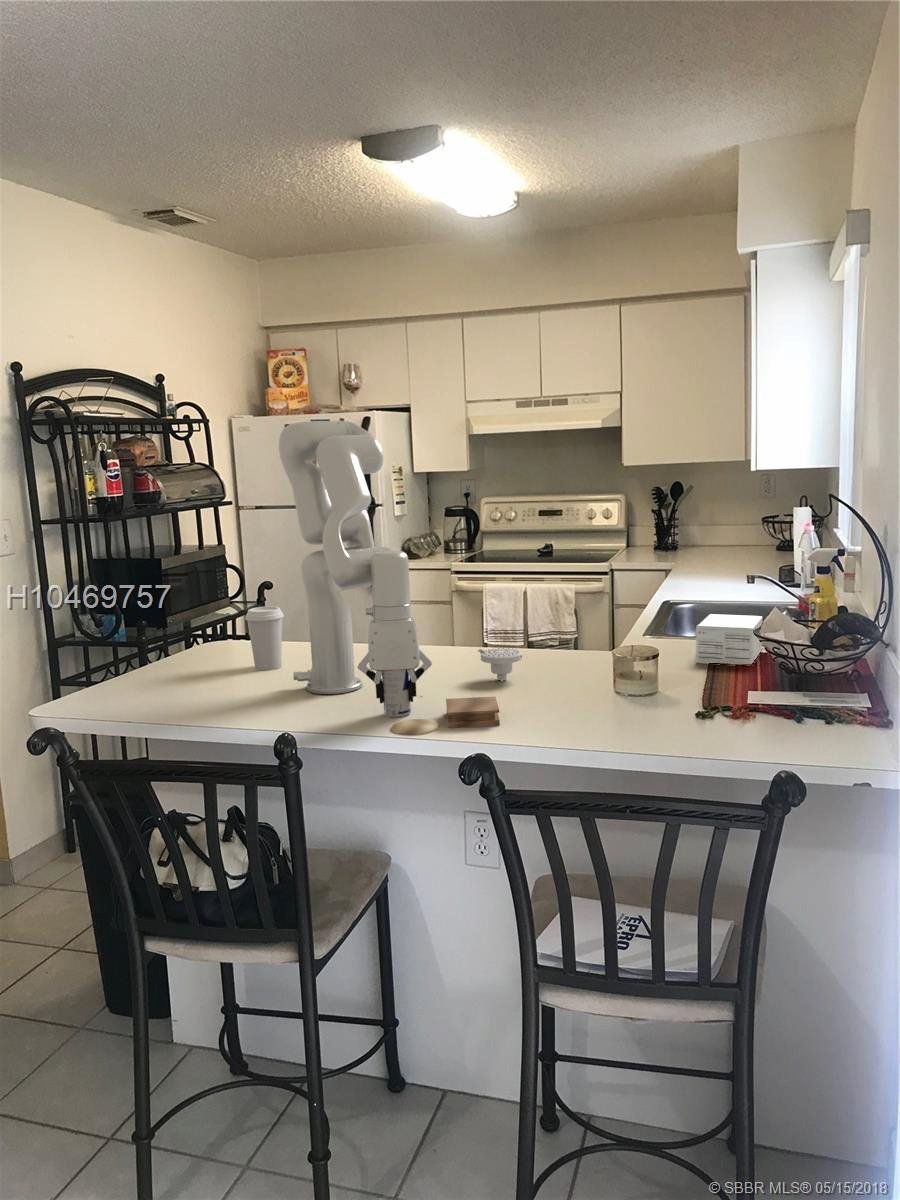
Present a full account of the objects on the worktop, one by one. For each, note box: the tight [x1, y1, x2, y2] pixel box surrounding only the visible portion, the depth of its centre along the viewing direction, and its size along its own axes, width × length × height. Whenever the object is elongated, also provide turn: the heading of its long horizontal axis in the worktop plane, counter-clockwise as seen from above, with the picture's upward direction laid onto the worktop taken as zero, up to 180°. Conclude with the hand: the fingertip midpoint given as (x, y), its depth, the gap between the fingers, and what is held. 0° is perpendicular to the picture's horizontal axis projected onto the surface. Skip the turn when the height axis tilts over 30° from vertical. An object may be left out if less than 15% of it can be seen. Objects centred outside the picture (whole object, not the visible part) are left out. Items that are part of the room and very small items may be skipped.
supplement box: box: [695, 613, 763, 665], centre depth 228 cm, size 17×13×9 cm
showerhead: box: [477, 647, 523, 681], centre depth 215 cm, size 9×7×10 cm
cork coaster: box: [391, 718, 440, 736], centre depth 182 cm, size 9×9×1 cm
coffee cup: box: [244, 605, 285, 671], centre depth 237 cm, size 10×10×15 cm
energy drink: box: [381, 670, 411, 718], centre depth 190 cm, size 5×5×12 cm
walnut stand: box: [445, 696, 501, 729], centre depth 186 cm, size 10×10×3 cm
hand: (396, 699), depth 191 cm, fingers closed on energy drink, 5 cm apart
